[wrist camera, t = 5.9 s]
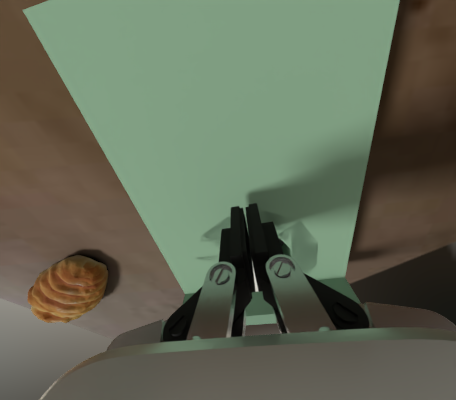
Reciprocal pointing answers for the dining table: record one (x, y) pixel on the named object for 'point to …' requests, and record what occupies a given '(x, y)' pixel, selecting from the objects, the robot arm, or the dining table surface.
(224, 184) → the mat
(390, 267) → the dining table surface
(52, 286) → the pastry
